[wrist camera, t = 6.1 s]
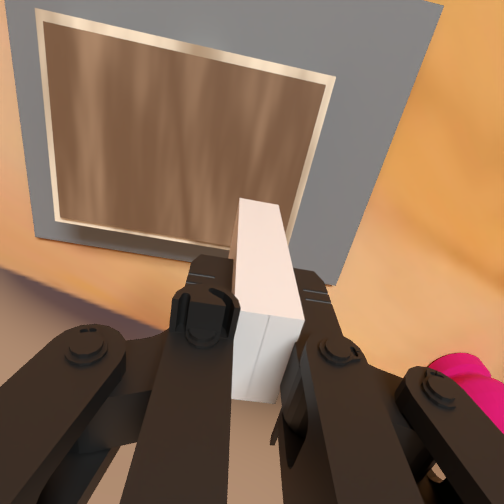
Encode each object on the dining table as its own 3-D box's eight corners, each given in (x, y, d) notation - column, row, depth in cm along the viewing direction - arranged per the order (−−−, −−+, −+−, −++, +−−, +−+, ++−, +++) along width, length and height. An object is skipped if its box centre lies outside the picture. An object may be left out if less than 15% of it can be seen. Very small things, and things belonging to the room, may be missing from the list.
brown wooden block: (337, 77, 18) (31, 6, 17) (284, 261, 24) (52, 222, 22) (322, 74, 22) (71, 17, 20) (279, 235, 28) (80, 200, 26)
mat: (439, 6, 21) (443, 5, 20) (334, 282, 31) (335, 285, 30) (-4, -109, 18) (-11, -113, 18) (38, 234, 28) (35, 236, 28)
